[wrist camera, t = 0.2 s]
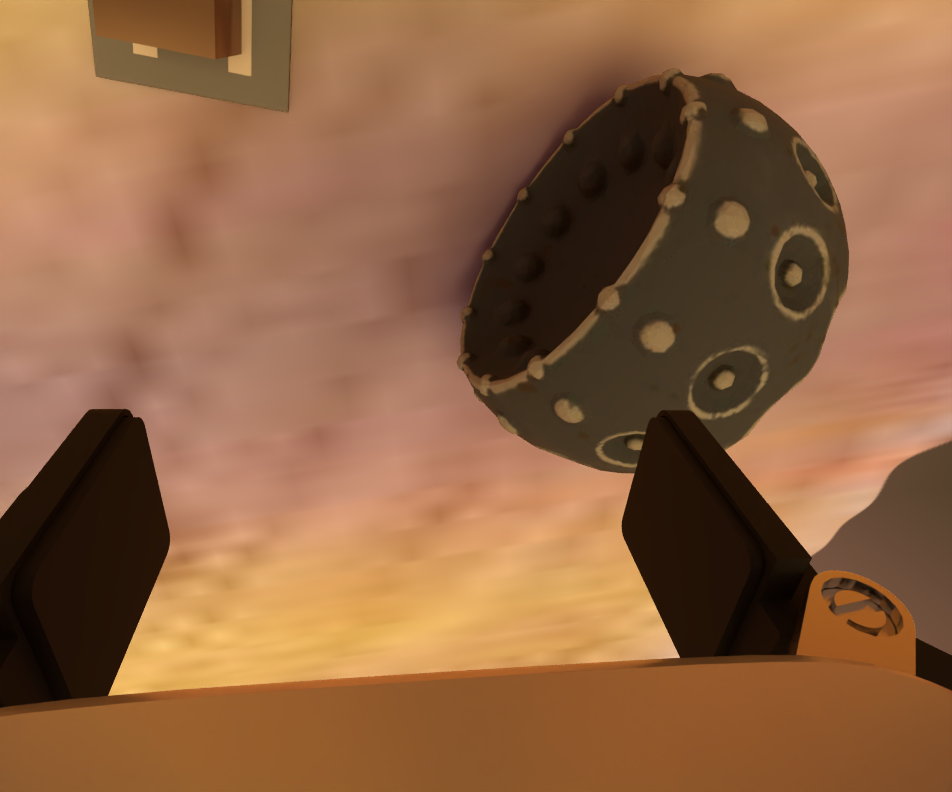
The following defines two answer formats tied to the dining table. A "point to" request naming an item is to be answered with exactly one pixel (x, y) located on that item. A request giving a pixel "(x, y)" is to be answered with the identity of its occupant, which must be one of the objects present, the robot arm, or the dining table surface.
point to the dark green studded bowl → (657, 274)
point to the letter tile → (212, 61)
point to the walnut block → (174, 24)
